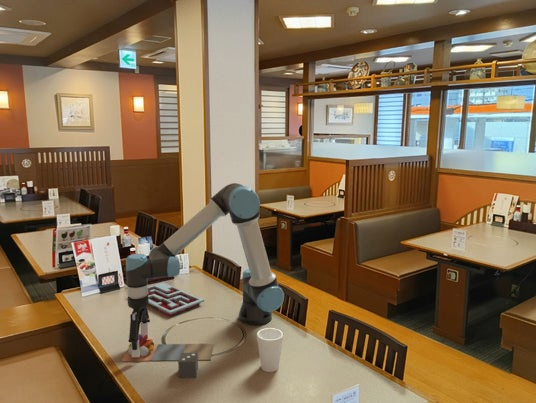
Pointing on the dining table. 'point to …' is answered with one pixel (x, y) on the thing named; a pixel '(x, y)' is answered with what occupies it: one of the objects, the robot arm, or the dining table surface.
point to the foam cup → (269, 348)
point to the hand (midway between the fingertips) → (140, 347)
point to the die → (188, 365)
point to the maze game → (171, 299)
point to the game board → (173, 352)
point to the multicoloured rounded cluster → (143, 345)
